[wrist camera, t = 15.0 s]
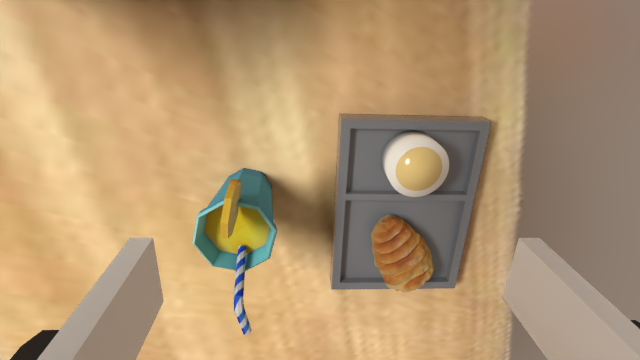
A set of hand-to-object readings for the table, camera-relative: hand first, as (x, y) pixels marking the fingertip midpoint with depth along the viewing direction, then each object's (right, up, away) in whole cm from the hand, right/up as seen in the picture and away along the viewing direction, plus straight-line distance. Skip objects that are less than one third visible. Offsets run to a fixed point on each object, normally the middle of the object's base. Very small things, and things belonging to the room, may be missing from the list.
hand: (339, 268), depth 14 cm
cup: (-9, +1, +30) cm, 32 cm away
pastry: (+9, -5, +33) cm, 34 cm away
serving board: (+9, 0, +32) cm, 33 cm away
